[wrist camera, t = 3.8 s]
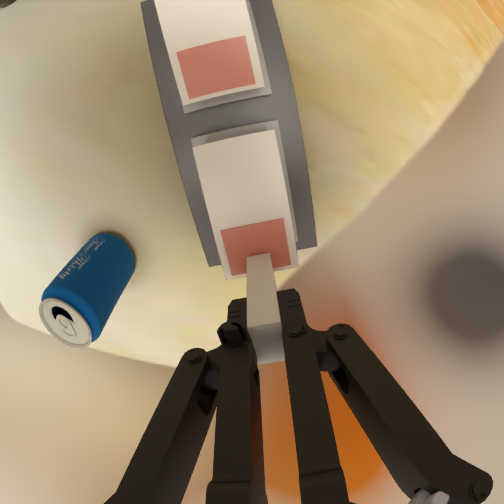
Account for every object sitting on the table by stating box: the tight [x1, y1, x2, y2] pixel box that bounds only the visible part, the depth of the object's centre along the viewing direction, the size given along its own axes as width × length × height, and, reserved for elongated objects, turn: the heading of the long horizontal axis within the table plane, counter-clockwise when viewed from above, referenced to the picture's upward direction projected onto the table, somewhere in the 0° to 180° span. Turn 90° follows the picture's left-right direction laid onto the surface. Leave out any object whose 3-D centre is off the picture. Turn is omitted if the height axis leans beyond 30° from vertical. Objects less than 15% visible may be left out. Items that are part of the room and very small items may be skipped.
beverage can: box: [39, 233, 135, 349], centre depth 24 cm, size 6×6×12 cm
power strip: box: [141, 0, 317, 267], centre depth 19 cm, size 31×10×5 cm, turn 12°
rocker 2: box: [192, 130, 299, 280], centre depth 18 cm, size 9×5×2 cm, turn 12°
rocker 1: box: [154, 0, 265, 105], centre depth 12 cm, size 9×5×2 cm, turn 11°
